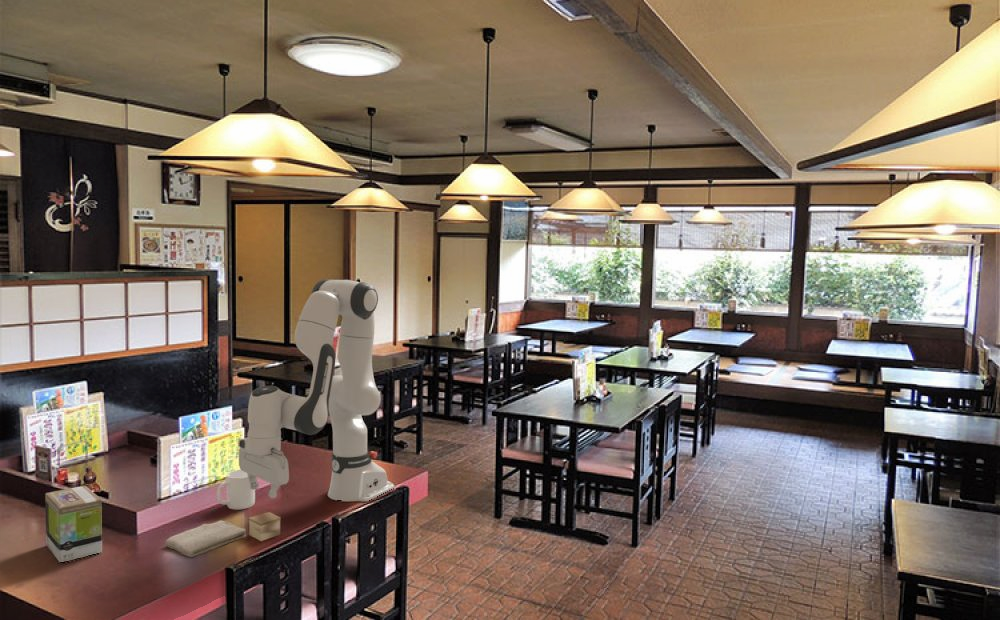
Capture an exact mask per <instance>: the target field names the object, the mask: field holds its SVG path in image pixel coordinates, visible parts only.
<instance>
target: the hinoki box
mask: <svg viewBox="0 0 1000 620" xmlns="http://www.w3.org/2000/svg"><path fill="white" fill-rule="evenodd" d="M248 520H249V521H248V522H249V523H248V524H249V530H248V532H249V536H250V537H252V538H254V539H257V540H258V541H260V542H263V541H266V540H268V539H271V538H275V537H277V536H280V535H281V516H278V515H276V514H274V513H272V512H270V511H267V512H263V513H261V514H256V515H253V516H251V517H250V516H249V517H248Z"/></svg>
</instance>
